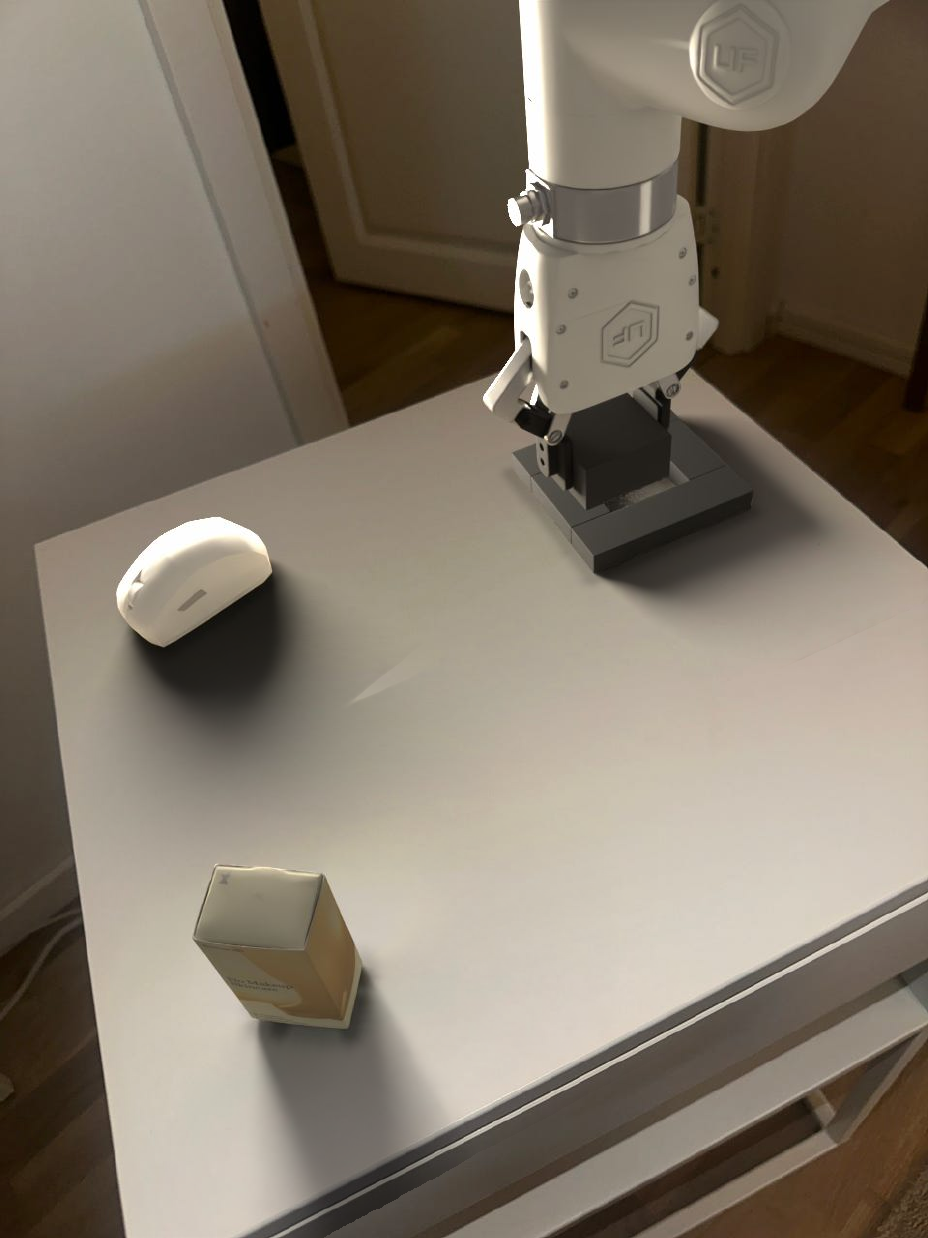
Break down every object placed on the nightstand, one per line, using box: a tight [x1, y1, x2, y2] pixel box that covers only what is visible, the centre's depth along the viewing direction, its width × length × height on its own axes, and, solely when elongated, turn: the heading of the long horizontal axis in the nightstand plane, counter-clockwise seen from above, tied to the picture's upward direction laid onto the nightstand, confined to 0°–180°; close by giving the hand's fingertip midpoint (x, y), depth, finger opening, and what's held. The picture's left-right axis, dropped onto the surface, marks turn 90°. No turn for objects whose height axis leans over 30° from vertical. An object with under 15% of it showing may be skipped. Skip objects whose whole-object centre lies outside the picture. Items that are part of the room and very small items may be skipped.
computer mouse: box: [116, 516, 273, 648], centre depth 79 cm, size 6×13×6 cm, turn 132°
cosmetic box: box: [191, 863, 363, 1030], centre depth 54 cm, size 6×4×12 cm
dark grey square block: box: [565, 392, 672, 511], centre depth 63 cm, size 6×6×3 cm
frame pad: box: [511, 409, 755, 574], centre depth 83 cm, size 15×15×2 cm
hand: (603, 456), depth 63 cm, fingers closed on dark grey square block, 6 cm apart
